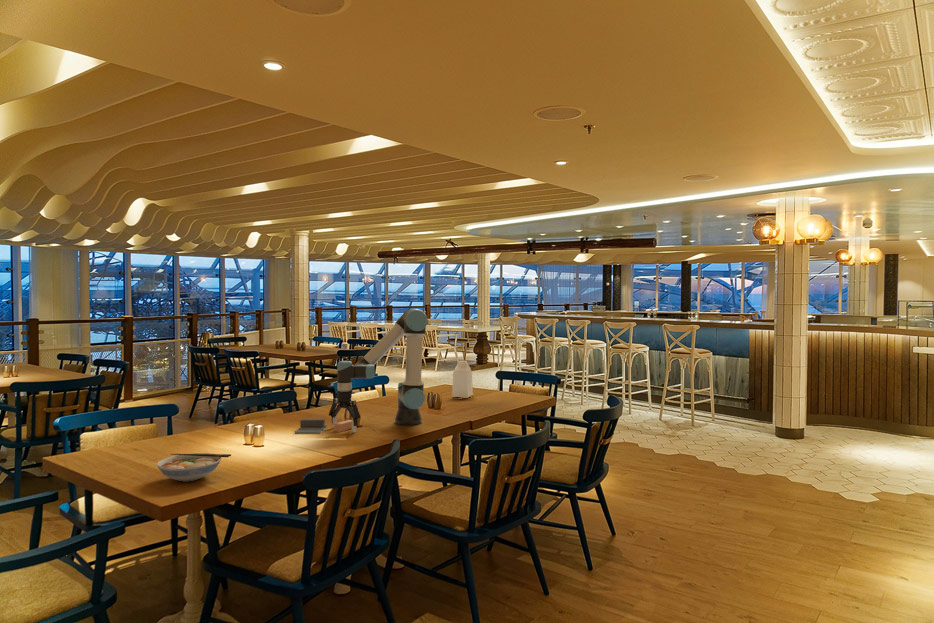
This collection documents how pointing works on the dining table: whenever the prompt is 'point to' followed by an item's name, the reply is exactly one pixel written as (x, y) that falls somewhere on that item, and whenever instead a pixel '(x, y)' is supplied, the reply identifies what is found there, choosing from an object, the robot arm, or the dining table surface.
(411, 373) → the robot arm
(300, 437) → the dining table surface
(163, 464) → the ramen bowl
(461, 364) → the milk
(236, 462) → the dining table surface
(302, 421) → the charcoal bar
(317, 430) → the slot board
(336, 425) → the terracotta bar
